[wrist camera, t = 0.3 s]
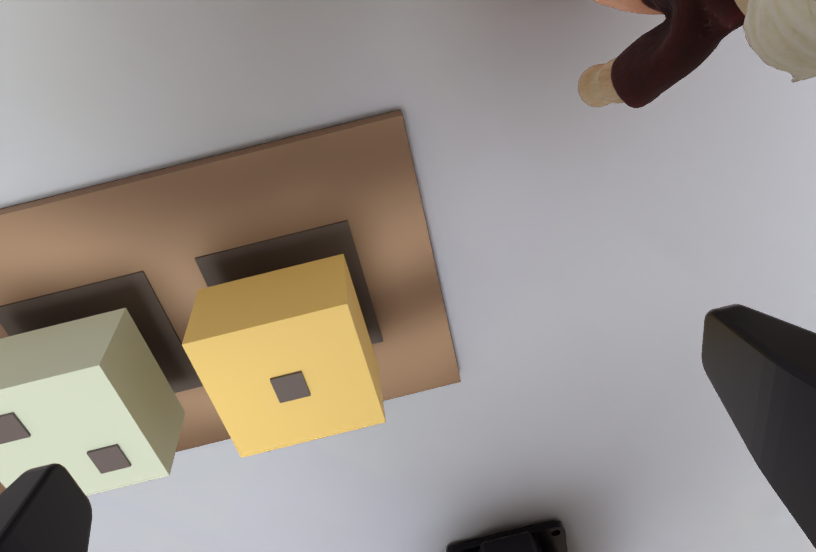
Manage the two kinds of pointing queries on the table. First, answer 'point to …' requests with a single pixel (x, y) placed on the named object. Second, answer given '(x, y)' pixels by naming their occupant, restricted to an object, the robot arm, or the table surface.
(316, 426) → the mustard tile
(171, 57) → the table surface
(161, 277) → the button board
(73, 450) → the sage tile
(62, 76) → the table surface
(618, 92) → the grandmother figurine
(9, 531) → the robot arm
